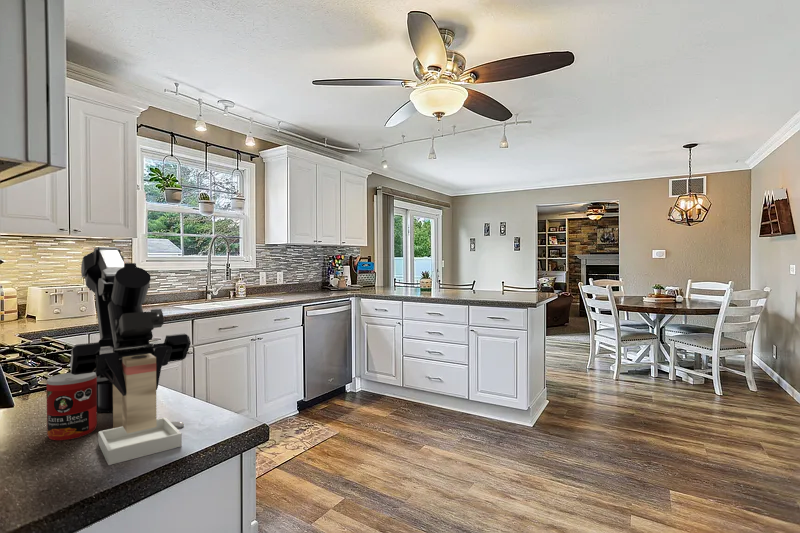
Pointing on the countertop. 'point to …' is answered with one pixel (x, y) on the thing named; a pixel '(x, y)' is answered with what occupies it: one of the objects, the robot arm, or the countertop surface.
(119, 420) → the block
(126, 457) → the tray
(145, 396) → the block
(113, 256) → the robot arm
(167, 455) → the countertop surface
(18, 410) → the countertop surface
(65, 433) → the canned food
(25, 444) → the countertop surface
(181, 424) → the pin gauge
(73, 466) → the countertop surface
